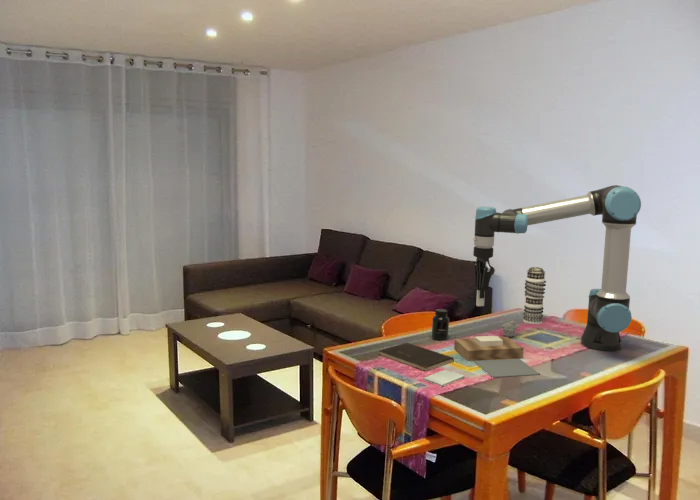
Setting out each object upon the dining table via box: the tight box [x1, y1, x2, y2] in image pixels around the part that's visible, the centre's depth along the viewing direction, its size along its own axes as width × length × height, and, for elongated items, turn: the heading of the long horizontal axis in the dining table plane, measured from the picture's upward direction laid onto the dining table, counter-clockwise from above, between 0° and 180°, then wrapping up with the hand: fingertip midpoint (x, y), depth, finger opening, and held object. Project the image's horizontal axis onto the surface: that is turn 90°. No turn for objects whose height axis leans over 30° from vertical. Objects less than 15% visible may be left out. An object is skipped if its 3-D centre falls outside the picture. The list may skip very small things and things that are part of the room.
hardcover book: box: [379, 342, 455, 372], centre depth 228 cm, size 16×23×2 cm
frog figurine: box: [501, 320, 520, 338], centre depth 255 cm, size 6×7×7 cm
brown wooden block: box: [453, 336, 524, 362], centre depth 234 cm, size 22×14×4 cm, turn 101°
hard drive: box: [422, 369, 466, 387], centre depth 207 cm, size 2×8×12 cm
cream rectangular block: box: [474, 335, 503, 347], centre depth 233 cm, size 9×6×2 cm, turn 101°
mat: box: [473, 358, 541, 378], centre depth 219 cm, size 18×16×1 cm
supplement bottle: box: [431, 308, 450, 341], centre depth 251 cm, size 7×7×12 cm
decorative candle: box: [522, 266, 547, 325], centre depth 277 cm, size 9×9×25 cm
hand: (480, 305), depth 240 cm, fingers closed
